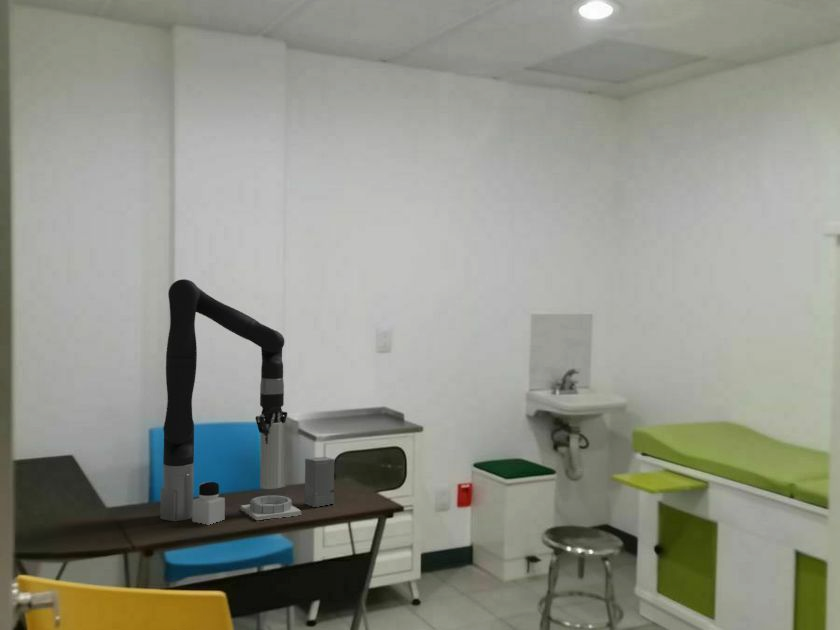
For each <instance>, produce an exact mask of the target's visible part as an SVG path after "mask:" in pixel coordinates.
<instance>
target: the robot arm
mask: <svg viewBox="0 0 840 630" xmlns="http://www.w3.org/2000/svg"><path fill="white" fill-rule="evenodd" d="M168 302H169V316H170V319H169V321H170V323H169V332H168V337H167V344H166V353H165V354H166V356H165V381H166V383H165V384H166V391H167V392H166V393H167V403H166V404H167V405H166V413H165V418H164V419H165V420H164V424H163V429H162V431H163V456H162V457H163V467H162V468H163V469H162V476H163V477H162V488H160V509H159V510H160V516H159V517H160V518H159V519H161V520H165V521H169V522H170V521H171V522H179V521H186V520H189V519H192V514H193V499H194V473H195V472H194V469H195V468H194V467H195V466H194V465H195V464H194V463H195V462H194V460H195V458H194V457H195V421H194V419H193V394H194V388H195V383H196V374H197V364H198V363H197V354H198V353H197V352H198V350H197V347H198V345H197V337H196V327H195V326H196V325H195V324H196V323H195V322H196V313H198V314H200V315H202V316H203V317H204V316H205V317H207V318H208V319H210V320H211V321H213V322H215V323H217V324H218V325H219V326H221V327H222V328H224V329H226V330H227V331H229V332H231V333H233V334H235V335H237V336H239V337H241V338H242V339H245V340H248V341H250V342H251V343H253V344H255V345H256V346H258V347H260V350H261V351H260V353H261V369H260V370H261V371H260V377H261V379H260V384H259V385H260V386H259V388H260V390H259V404H260V405H259V406H260V407H261V408H262V410H261V414H259V415H256V416H255V422H256V425H257V428H258V433H259V434H261V433H263V434H264V435H265V436H266V438H265V439H266V440H265V441H266V444H268V434H269V435H270V427H272V424H273V423H286V420H287V416H288V412H287V411H283V409H282V407H283V406H284V403H285V402H284V397H285V396H284V395H285V390H284V389H285V383H284V363H283V347H284V346H285V338H284V336H283V334H281V332H279V331H278V330H275V329H273V328H271V327H269V326H266V325H265V324H262V323H260V322H259V321H258V320H256V319H255V318H253V317H251V316H249V315H247V314H246V313H244V312H242V311H240V310H238V309H235V308H234V307H231V306H229V305H227V304H225V303H223V302H221V301H219V300H217V299H215V298H214V297H212V296H210V295H208V294H207V292H205V291H203V290H202V289H201V288H200V287H198V286H197V284H195V282H193V281H192V280H189V279H185V278H183V279H178V280H176V281H174V282H173V283H171V285H170V287H169V288H168ZM265 423H269V427H268V430H267V428H266V424H265ZM262 428H263V429H262Z"/></svg>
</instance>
